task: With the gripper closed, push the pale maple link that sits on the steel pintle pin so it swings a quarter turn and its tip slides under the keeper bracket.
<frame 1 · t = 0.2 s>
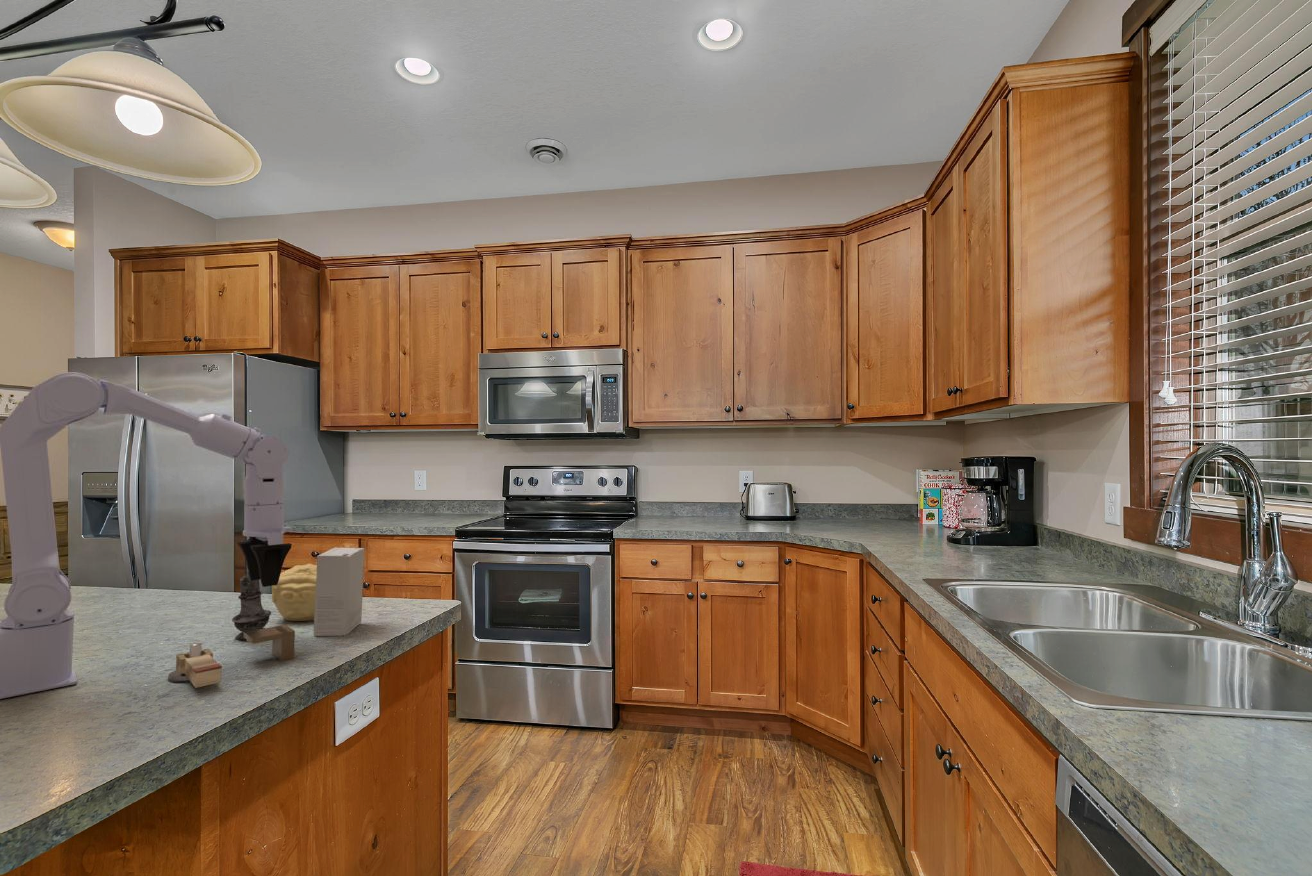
hand: (263, 582, 102), 10 cm above the counter, tool pointing down, fingers open, 7 cm apart
keeper: (268, 645, 94), on the counter
dark grey tall piece: (253, 636, 105), on the counter, touching gripper
link: (200, 667, 84), point 2 cm above the counter, hinge at 0.0°
pintle base: (194, 675, 87), on the counter
sculpture: (307, 618, 118), on the counter
skincare box: (338, 631, 110), on the counter
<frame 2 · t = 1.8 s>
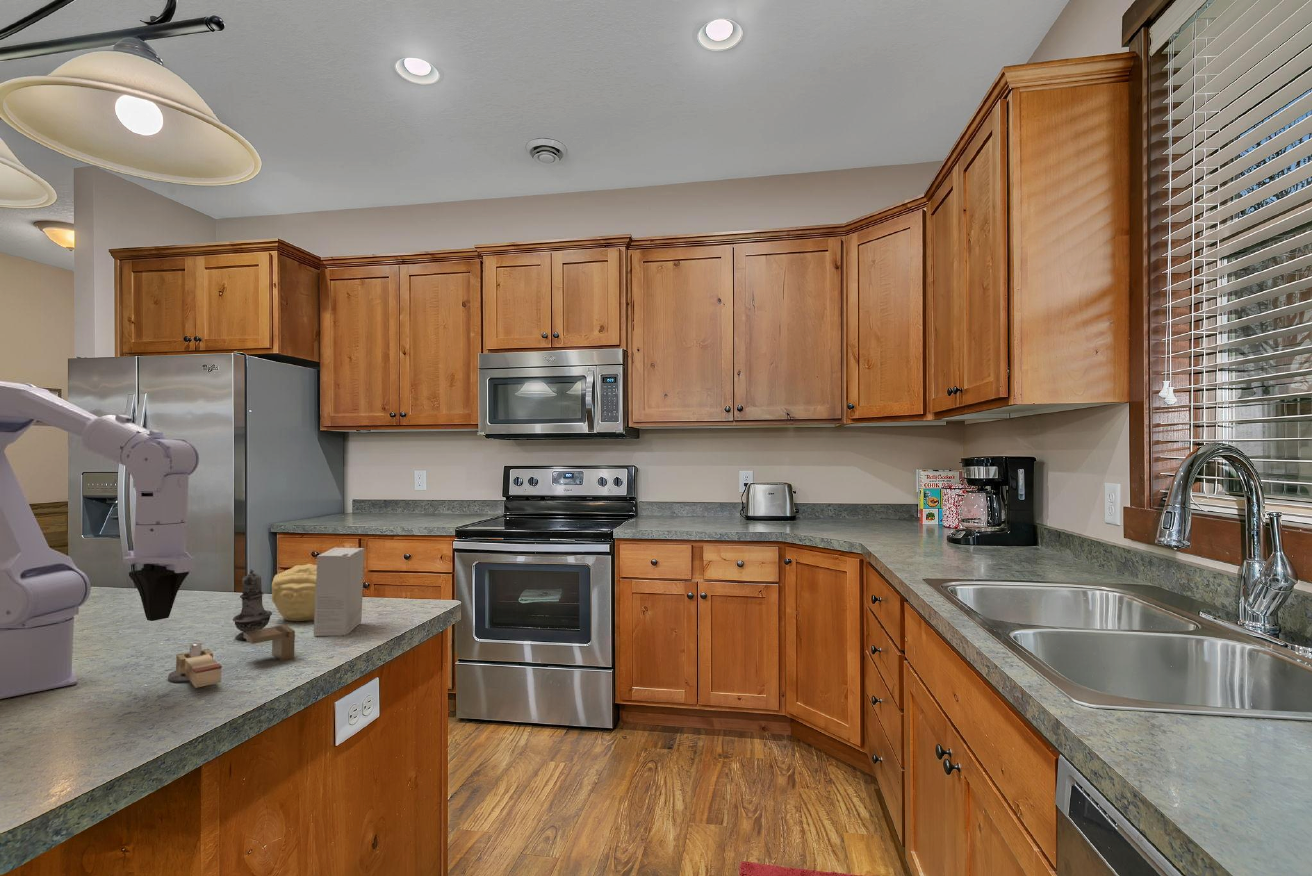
hand: (157, 619, 83), 9 cm above the counter, tool pointing down, fingers closed
dark grey tall piece: (253, 636, 105), on the counter
everything else where it was.
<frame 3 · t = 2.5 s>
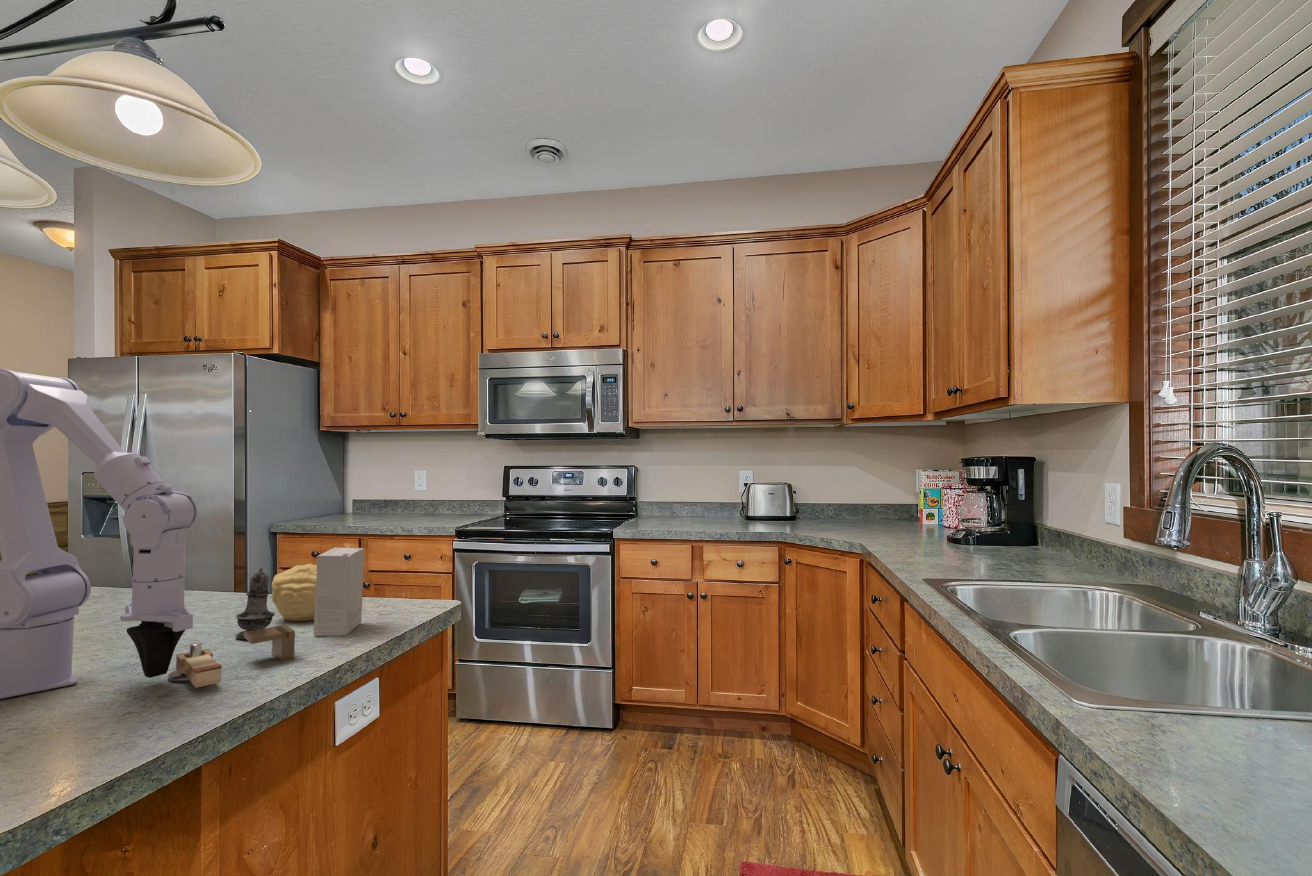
hand: (155, 675, 83), 1 cm above the counter, tool pointing down, fingers closed
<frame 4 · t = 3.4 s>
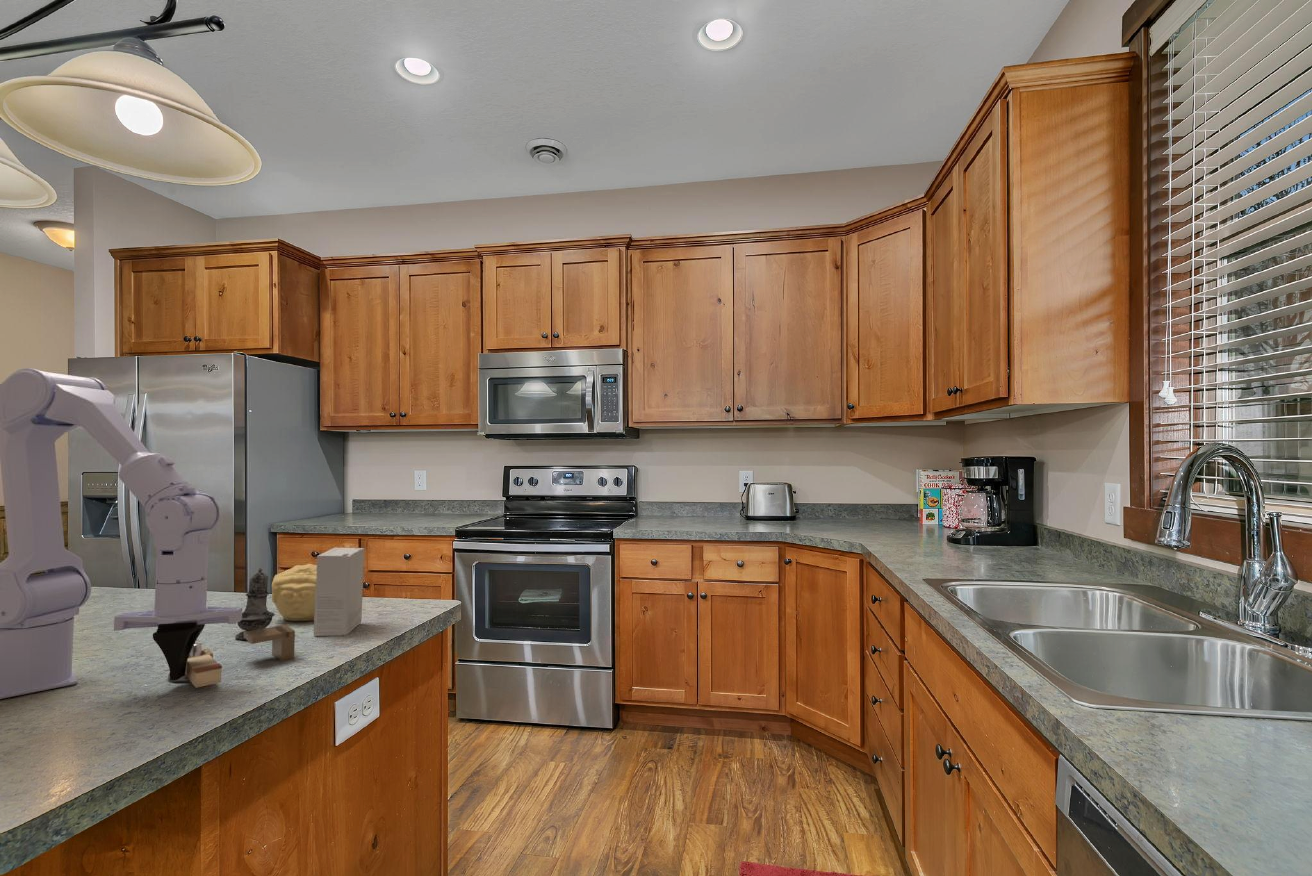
hand: (178, 677, 82), 1 cm above the counter, tool pointing down, fingers closed, pressing on link
link: (200, 667, 84), point 2 cm above the counter, hinge at 0.1°, touching gripper
everything else where it was.
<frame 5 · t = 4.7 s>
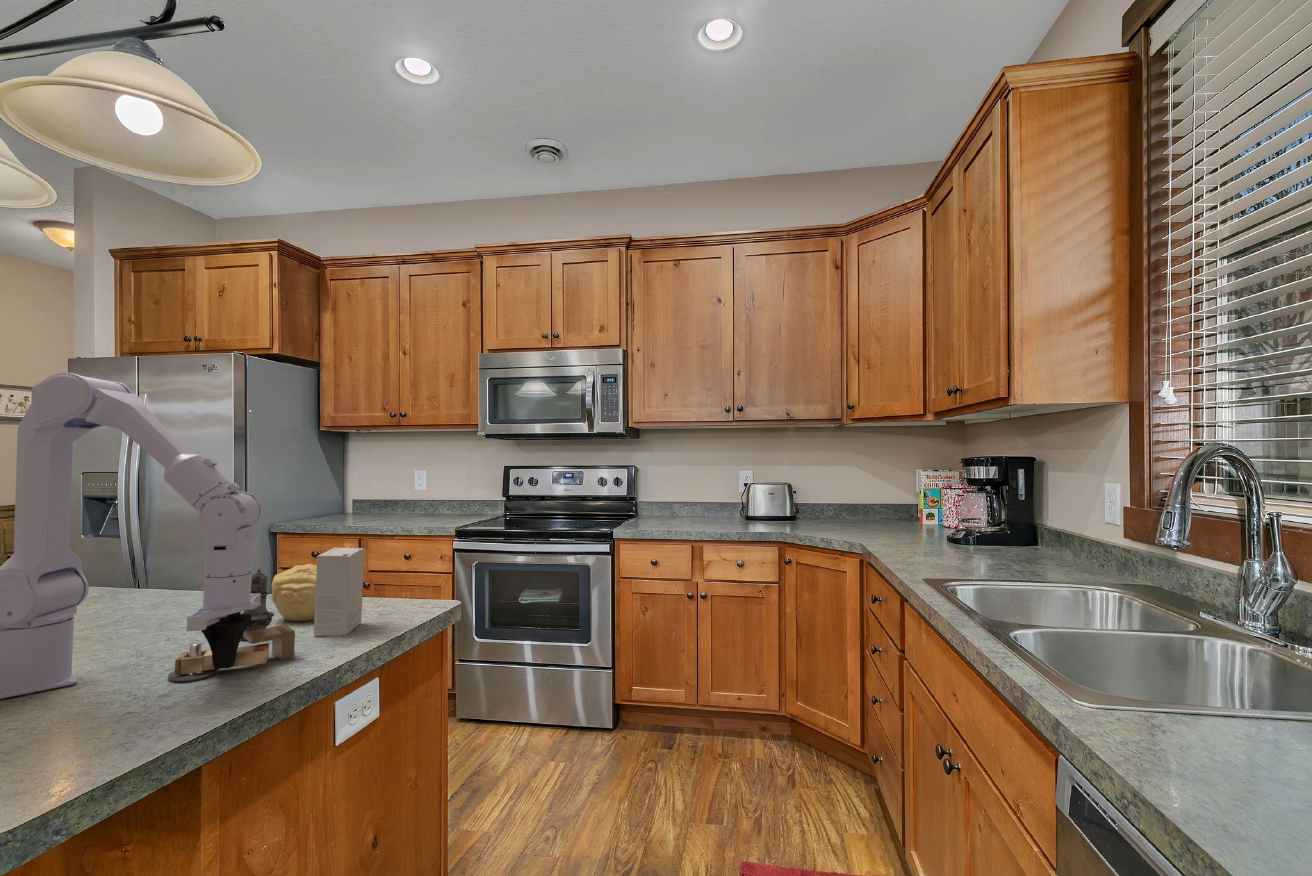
hand: (224, 667, 86), 1 cm above the counter, tool pointing down, fingers closed, pressing on link
link: (224, 657, 88), point 2 cm above the counter, hinge at 68.0°, touching gripper
everything else where it was.
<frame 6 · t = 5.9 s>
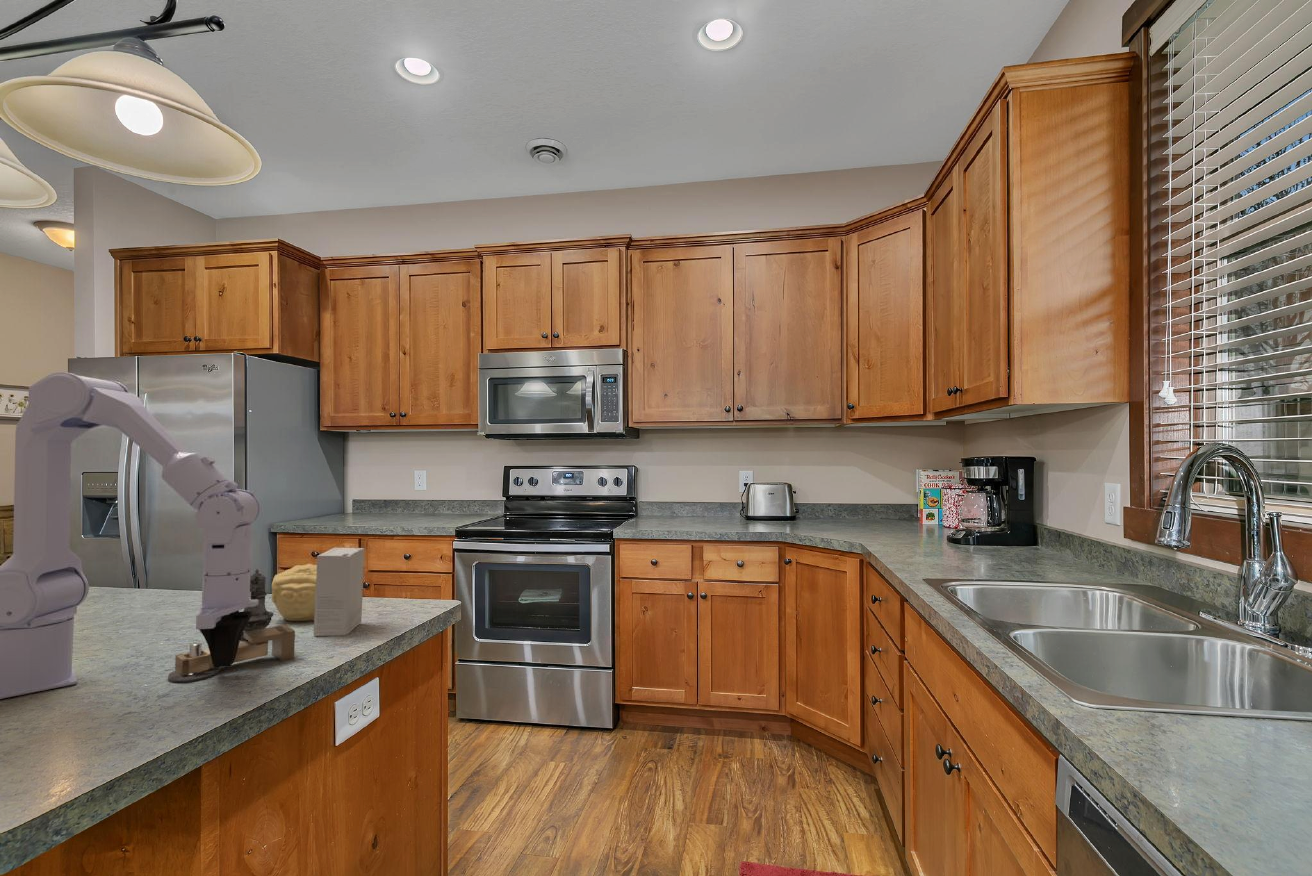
hand: (223, 665, 86), 1 cm above the counter, tool pointing down, fingers closed
link: (223, 655, 89), point 2 cm above the counter, hinge at 94.1°
everything else where it was.
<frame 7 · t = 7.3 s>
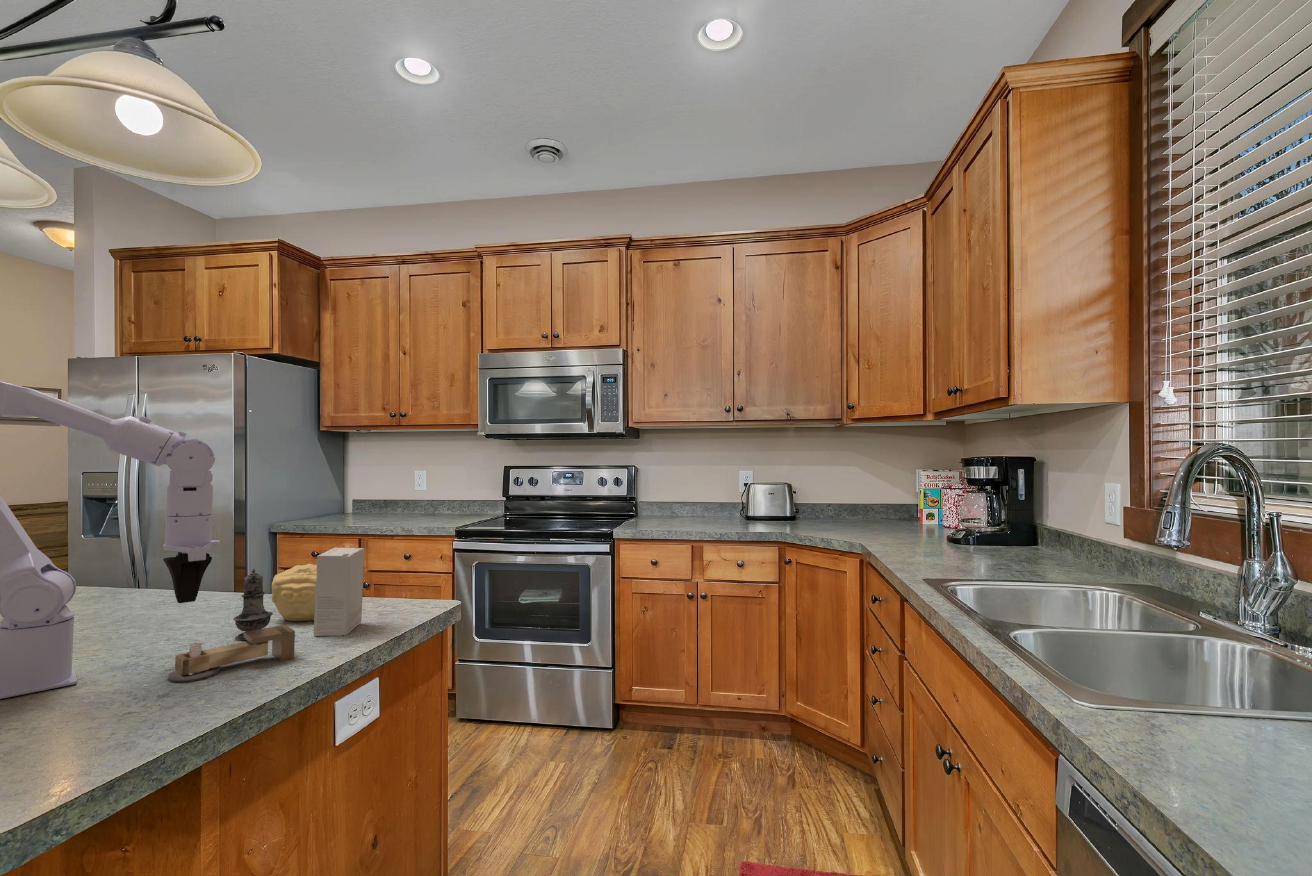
hand: (186, 601, 92), 9 cm above the counter, tool pointing down, fingers closed
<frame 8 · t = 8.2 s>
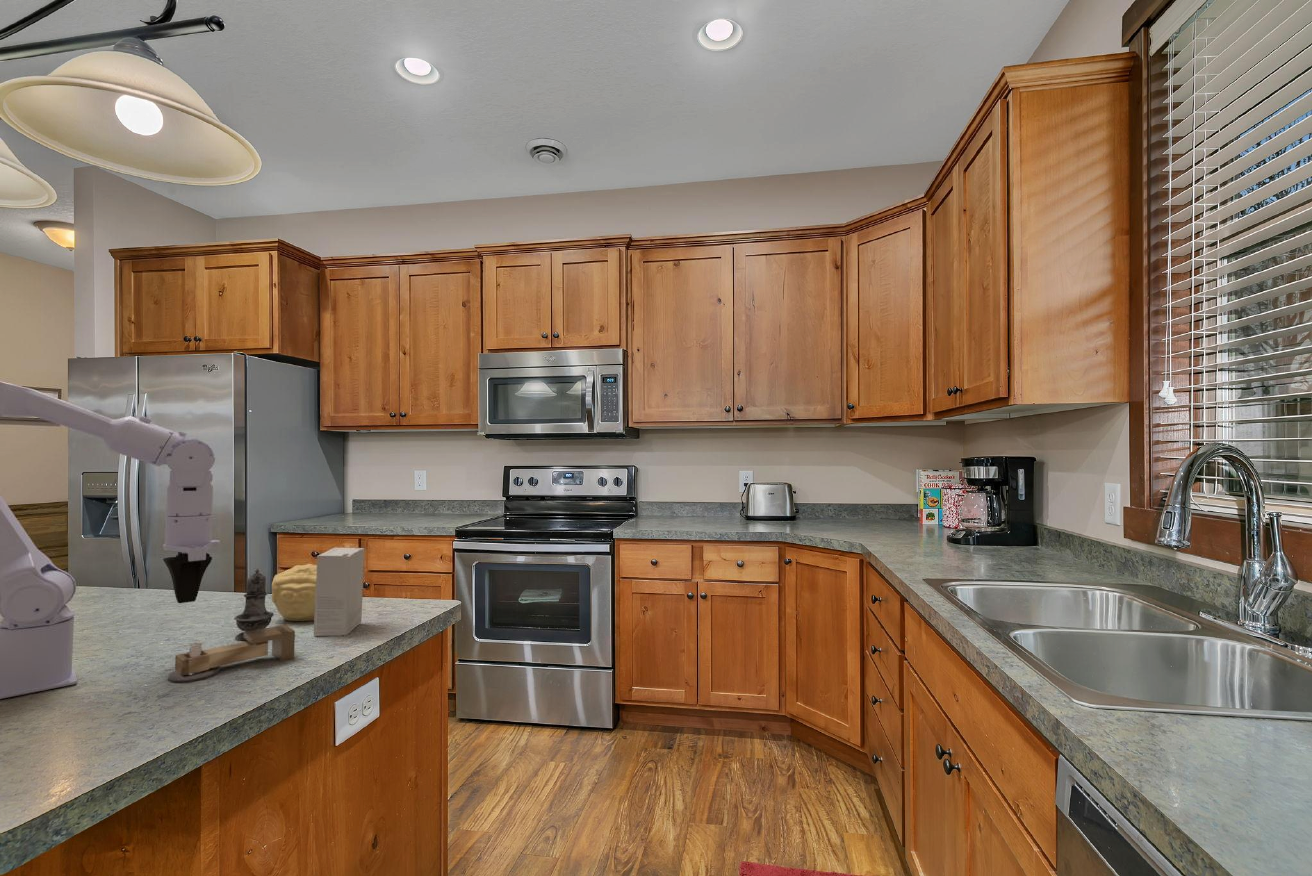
hand: (186, 601, 92), 9 cm above the counter, tool pointing down, fingers closed
at the end: link at +94° (first picture: +0°); link touching nothing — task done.
